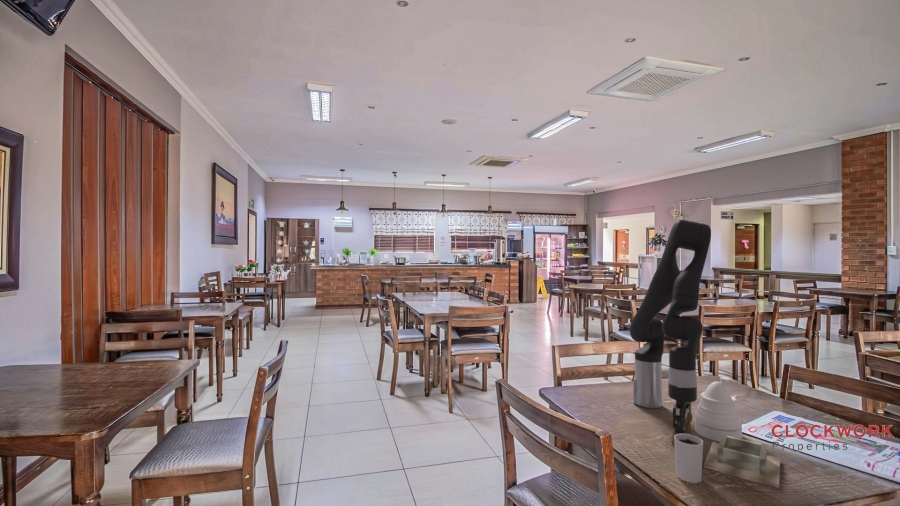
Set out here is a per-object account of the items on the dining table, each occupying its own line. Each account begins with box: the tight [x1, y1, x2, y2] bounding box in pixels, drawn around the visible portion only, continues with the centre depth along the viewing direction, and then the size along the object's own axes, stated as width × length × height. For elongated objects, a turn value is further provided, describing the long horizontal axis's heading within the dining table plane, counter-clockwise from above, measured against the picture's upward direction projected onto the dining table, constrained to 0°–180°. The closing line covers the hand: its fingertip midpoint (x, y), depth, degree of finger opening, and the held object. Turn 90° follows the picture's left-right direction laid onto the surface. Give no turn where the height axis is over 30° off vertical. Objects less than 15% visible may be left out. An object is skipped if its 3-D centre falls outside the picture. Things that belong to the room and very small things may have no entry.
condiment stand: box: [703, 434, 781, 489], centre depth 115 cm, size 16×16×5 cm
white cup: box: [674, 434, 704, 482], centre depth 109 cm, size 7×7×10 cm
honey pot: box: [694, 376, 743, 442], centre depth 134 cm, size 13×13×18 cm
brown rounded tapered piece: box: [671, 411, 693, 448], centre depth 126 cm, size 6×6×11 cm
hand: (682, 436), depth 126 cm, fingers open, 8 cm apart
